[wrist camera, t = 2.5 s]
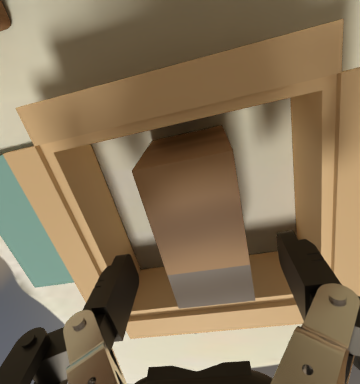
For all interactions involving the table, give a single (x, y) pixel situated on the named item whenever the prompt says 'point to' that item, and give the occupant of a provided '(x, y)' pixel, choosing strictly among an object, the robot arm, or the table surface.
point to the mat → (27, 234)
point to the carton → (187, 111)
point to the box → (197, 217)
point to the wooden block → (4, 18)
